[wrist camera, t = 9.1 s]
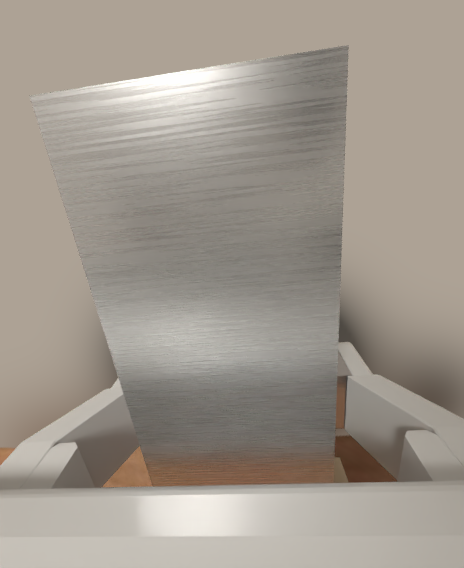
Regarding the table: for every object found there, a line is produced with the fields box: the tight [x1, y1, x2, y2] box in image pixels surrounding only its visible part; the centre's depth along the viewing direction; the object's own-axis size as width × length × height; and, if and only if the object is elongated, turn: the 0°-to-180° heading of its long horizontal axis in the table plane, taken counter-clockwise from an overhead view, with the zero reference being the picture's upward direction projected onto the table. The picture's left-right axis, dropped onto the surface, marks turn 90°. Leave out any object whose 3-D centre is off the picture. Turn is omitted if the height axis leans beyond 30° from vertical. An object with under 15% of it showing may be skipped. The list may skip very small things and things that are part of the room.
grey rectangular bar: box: [30, 46, 349, 487], centre depth 8 cm, size 4×5×16 cm
